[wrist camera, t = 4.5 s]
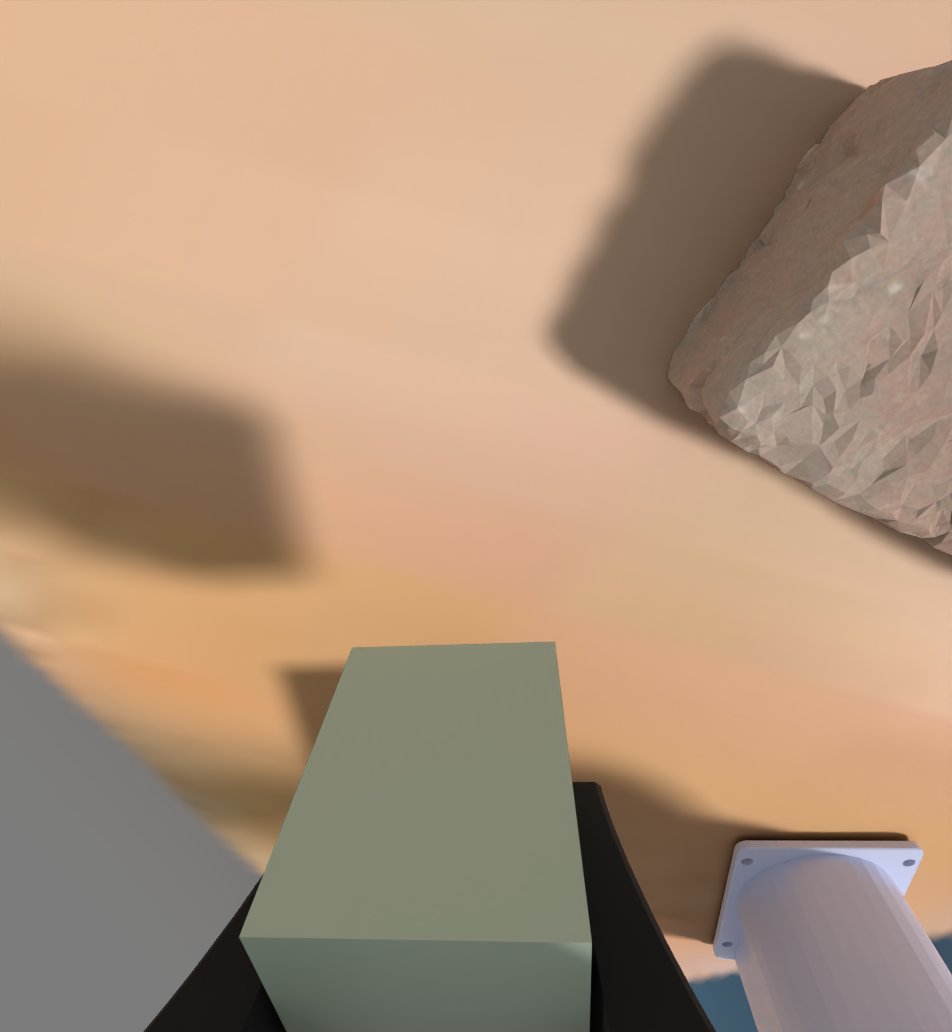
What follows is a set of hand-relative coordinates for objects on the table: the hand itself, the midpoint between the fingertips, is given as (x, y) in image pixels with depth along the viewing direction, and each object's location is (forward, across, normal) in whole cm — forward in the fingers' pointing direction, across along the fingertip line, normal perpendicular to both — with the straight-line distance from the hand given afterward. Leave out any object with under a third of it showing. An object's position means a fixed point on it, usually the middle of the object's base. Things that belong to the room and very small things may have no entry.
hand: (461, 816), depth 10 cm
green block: (+2, 0, 0) cm, 2 cm away
